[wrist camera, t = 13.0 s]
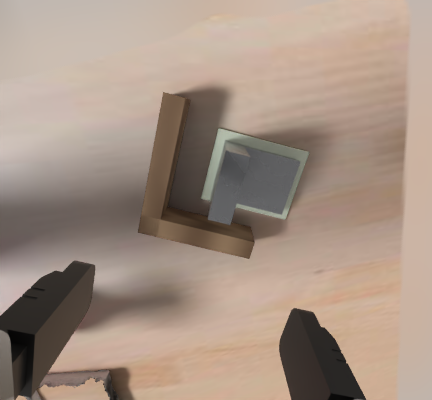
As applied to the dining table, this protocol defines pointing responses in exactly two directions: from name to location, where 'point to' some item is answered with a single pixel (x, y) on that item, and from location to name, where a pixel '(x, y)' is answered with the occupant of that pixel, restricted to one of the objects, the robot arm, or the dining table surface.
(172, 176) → the wooden corner frame
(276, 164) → the bracket
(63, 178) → the dining table surface
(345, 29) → the dining table surface
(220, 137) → the pad
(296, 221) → the dining table surface
